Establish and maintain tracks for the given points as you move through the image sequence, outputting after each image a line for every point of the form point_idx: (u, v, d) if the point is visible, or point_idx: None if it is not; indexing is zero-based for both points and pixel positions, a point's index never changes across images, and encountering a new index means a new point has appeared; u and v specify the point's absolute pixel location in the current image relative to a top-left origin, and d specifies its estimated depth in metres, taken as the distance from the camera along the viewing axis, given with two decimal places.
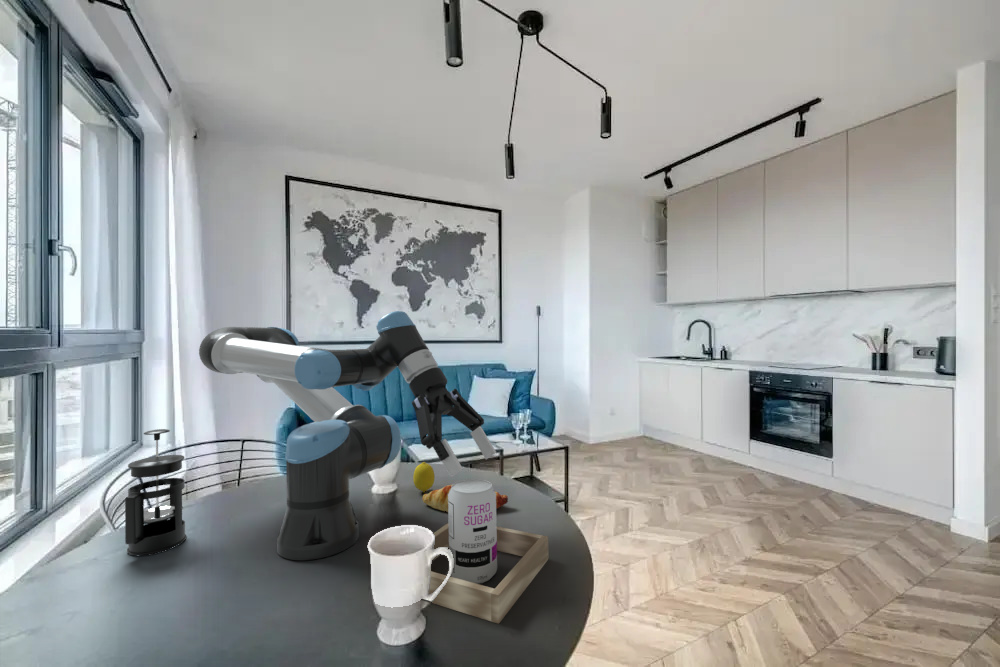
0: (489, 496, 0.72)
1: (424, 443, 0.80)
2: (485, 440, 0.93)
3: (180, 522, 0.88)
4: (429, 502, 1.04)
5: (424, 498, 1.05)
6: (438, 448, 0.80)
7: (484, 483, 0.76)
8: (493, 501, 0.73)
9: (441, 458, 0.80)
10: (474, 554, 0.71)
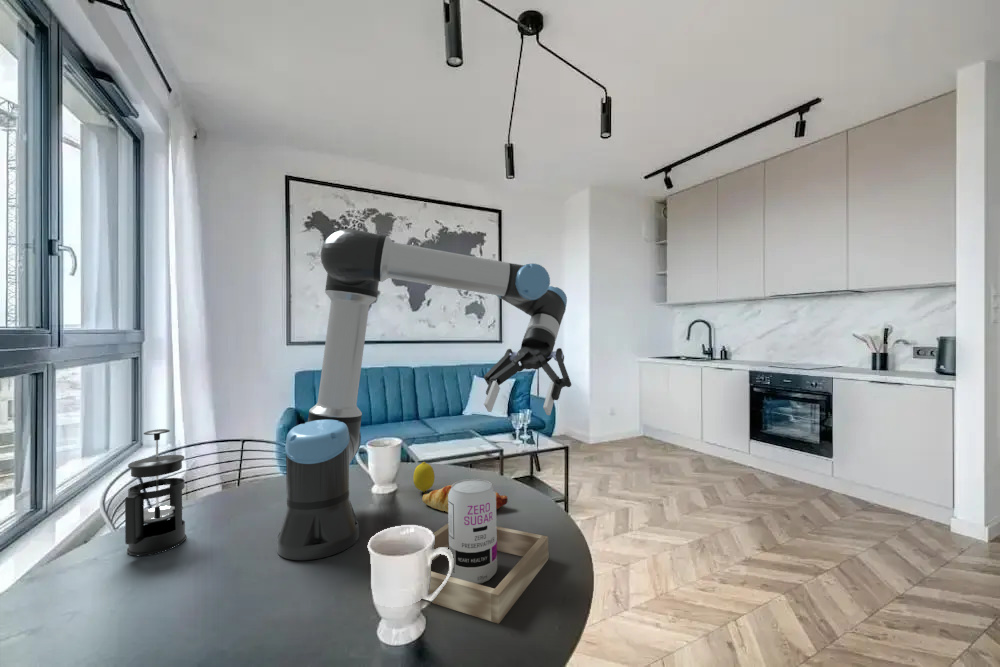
0: (489, 496, 0.72)
1: (568, 380, 0.91)
2: (495, 398, 0.97)
3: (180, 522, 0.88)
4: (429, 502, 1.04)
5: (424, 498, 1.05)
6: (559, 390, 0.91)
7: (484, 483, 0.76)
8: (493, 501, 0.73)
9: (557, 395, 0.89)
10: (474, 554, 0.71)
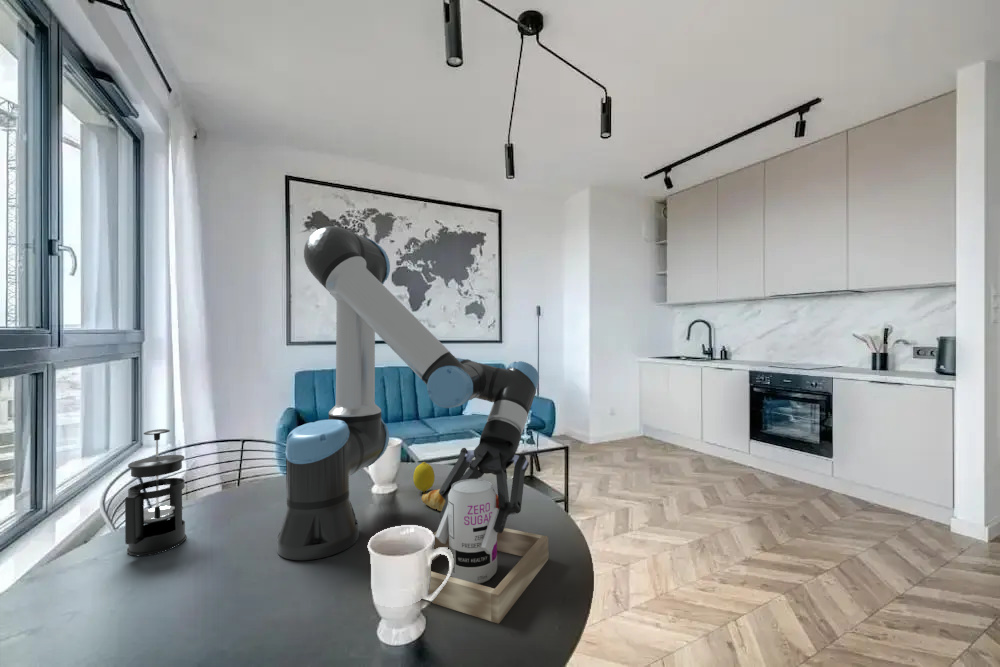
0: (489, 496, 0.72)
1: (515, 506, 0.73)
2: None
3: (180, 522, 0.88)
4: (428, 502, 1.04)
5: (423, 498, 1.05)
6: (504, 519, 0.73)
7: (484, 483, 0.76)
8: (493, 501, 0.73)
9: (500, 528, 0.71)
10: (474, 554, 0.71)
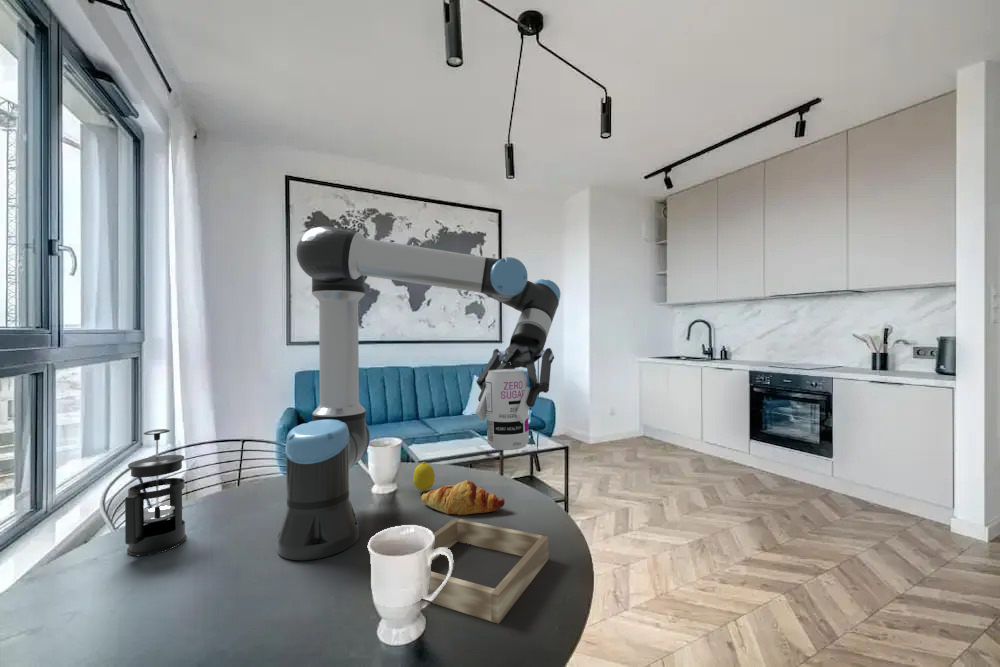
0: (521, 376, 0.84)
1: (544, 385, 0.84)
2: None
3: (180, 522, 0.88)
4: (427, 502, 1.04)
5: (423, 497, 1.05)
6: (535, 396, 0.84)
7: (516, 370, 0.88)
8: (525, 381, 0.85)
9: (532, 402, 0.83)
10: (510, 423, 0.82)
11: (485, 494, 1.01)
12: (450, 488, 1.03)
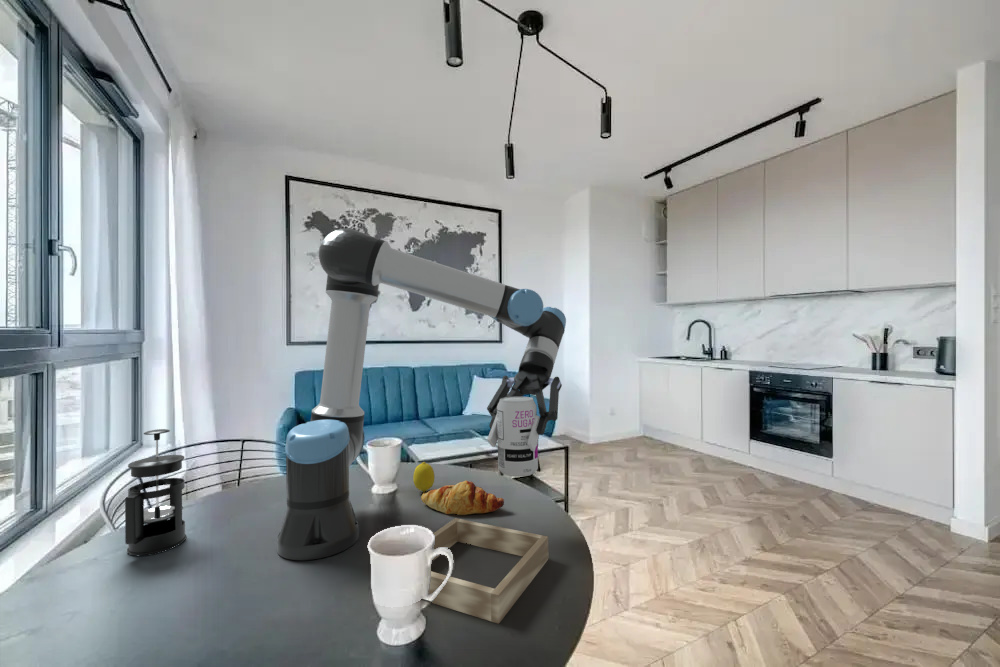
0: (532, 405, 0.88)
1: (553, 414, 0.88)
2: None
3: (180, 522, 0.88)
4: (426, 501, 1.04)
5: (422, 497, 1.06)
6: (544, 424, 0.88)
7: (526, 398, 0.92)
8: (535, 410, 0.89)
9: (542, 430, 0.87)
10: (521, 451, 0.86)
11: (484, 494, 1.01)
12: (450, 488, 1.03)
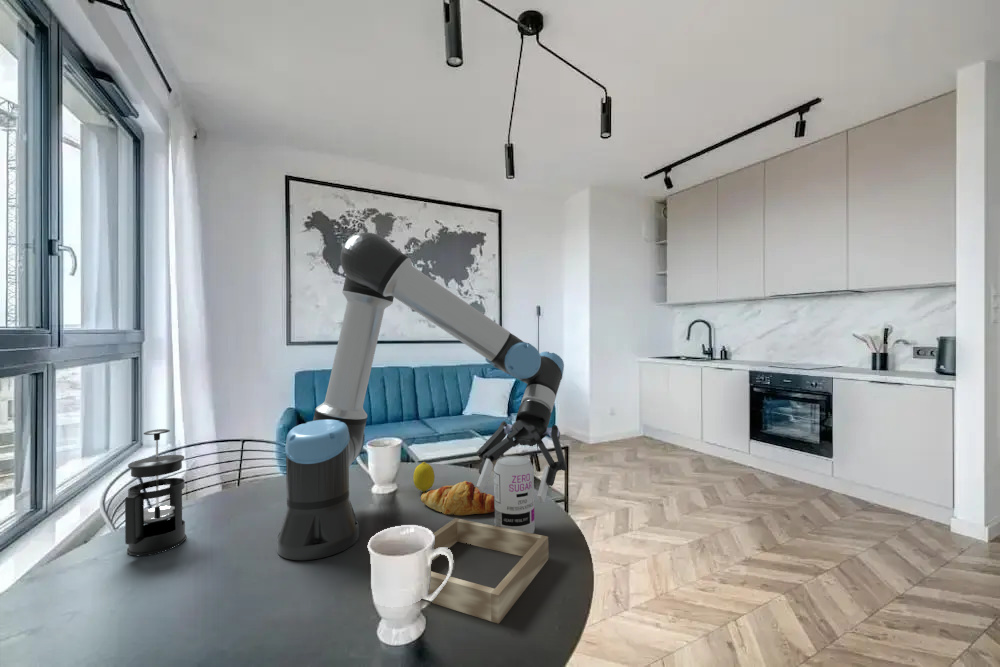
0: (529, 468, 0.88)
1: (563, 464, 0.88)
2: (488, 477, 0.93)
3: (180, 522, 0.88)
4: (426, 502, 1.04)
5: (422, 497, 1.06)
6: (554, 474, 0.88)
7: (523, 458, 0.91)
8: (532, 472, 0.88)
9: (551, 481, 0.86)
10: (517, 516, 0.86)
11: (483, 495, 1.01)
12: (449, 488, 1.03)
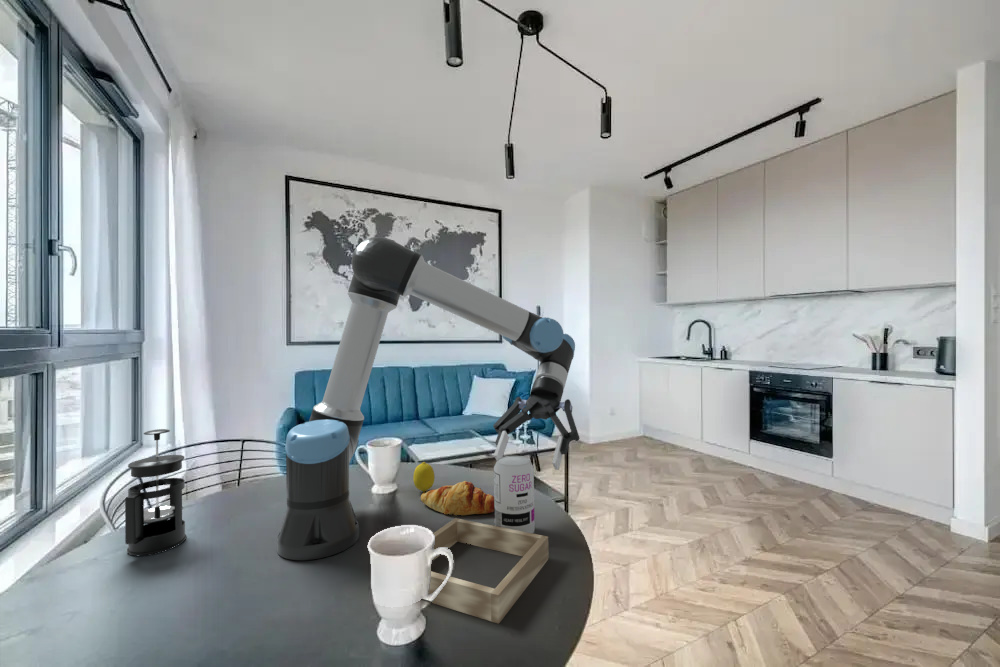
0: (529, 468, 0.88)
1: (576, 434, 0.93)
2: (504, 448, 0.99)
3: (180, 522, 0.88)
4: (425, 501, 1.04)
5: (422, 497, 1.06)
6: (567, 444, 0.93)
7: (523, 458, 0.91)
8: (532, 472, 0.88)
9: (565, 450, 0.92)
10: (517, 516, 0.86)
11: (483, 495, 1.01)
12: (448, 488, 1.03)
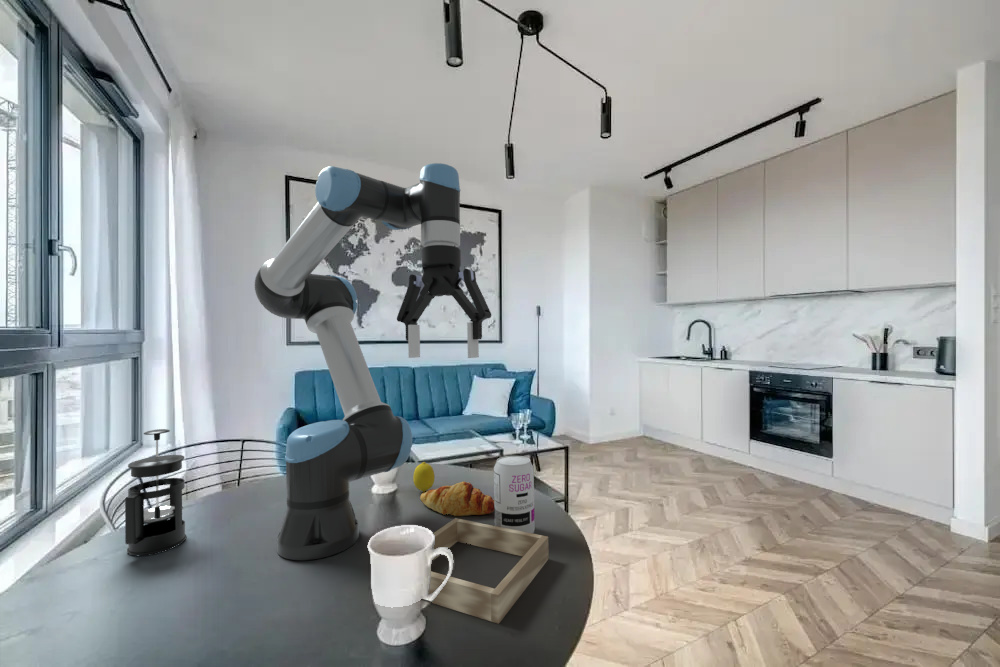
0: (529, 468, 0.88)
1: (485, 316, 0.79)
2: (418, 340, 0.87)
3: (180, 522, 0.88)
4: (424, 501, 1.04)
5: (421, 497, 1.06)
6: (480, 327, 0.80)
7: (523, 458, 0.91)
8: (532, 472, 0.88)
9: (479, 337, 0.80)
10: (517, 516, 0.86)
11: (481, 496, 1.00)
12: (447, 489, 1.03)
